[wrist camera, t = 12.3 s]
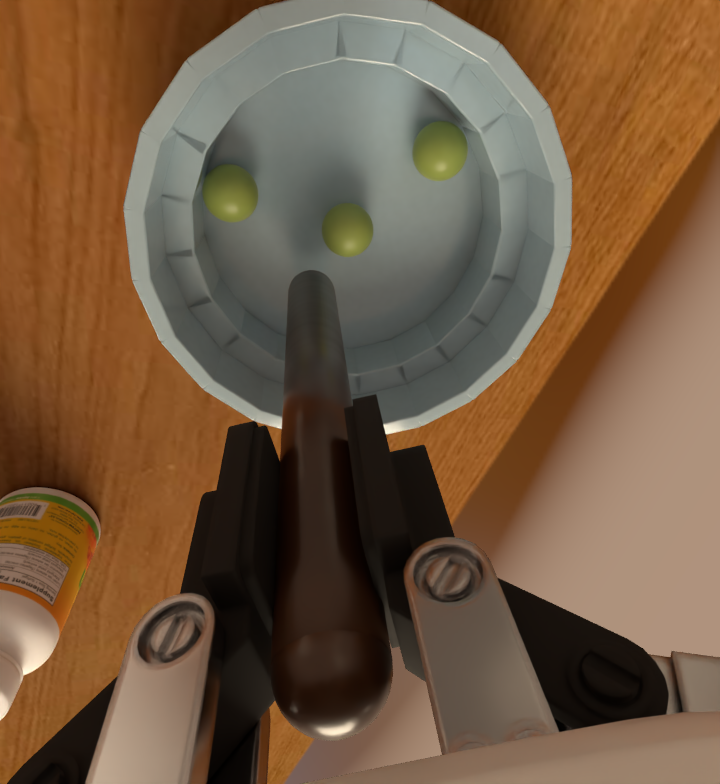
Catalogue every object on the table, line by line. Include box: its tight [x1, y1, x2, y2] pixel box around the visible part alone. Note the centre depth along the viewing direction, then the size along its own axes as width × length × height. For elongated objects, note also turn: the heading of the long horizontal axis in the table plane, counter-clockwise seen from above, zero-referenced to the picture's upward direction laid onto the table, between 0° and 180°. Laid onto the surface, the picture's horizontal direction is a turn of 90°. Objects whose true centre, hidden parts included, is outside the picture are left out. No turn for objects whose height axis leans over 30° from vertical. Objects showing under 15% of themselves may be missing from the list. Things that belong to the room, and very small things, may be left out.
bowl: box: [123, 0, 572, 435], centre depth 20 cm, size 14×14×6 cm
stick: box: [270, 270, 393, 741], centre depth 14 cm, size 2×2×17 cm
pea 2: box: [322, 203, 374, 257], centre depth 21 cm, size 2×2×2 cm
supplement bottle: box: [0, 487, 101, 720], centre depth 25 cm, size 5×5×10 cm
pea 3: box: [412, 121, 468, 181], centre depth 19 cm, size 2×2×2 cm
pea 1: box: [202, 164, 259, 222], centre depth 20 cm, size 2×2×2 cm
